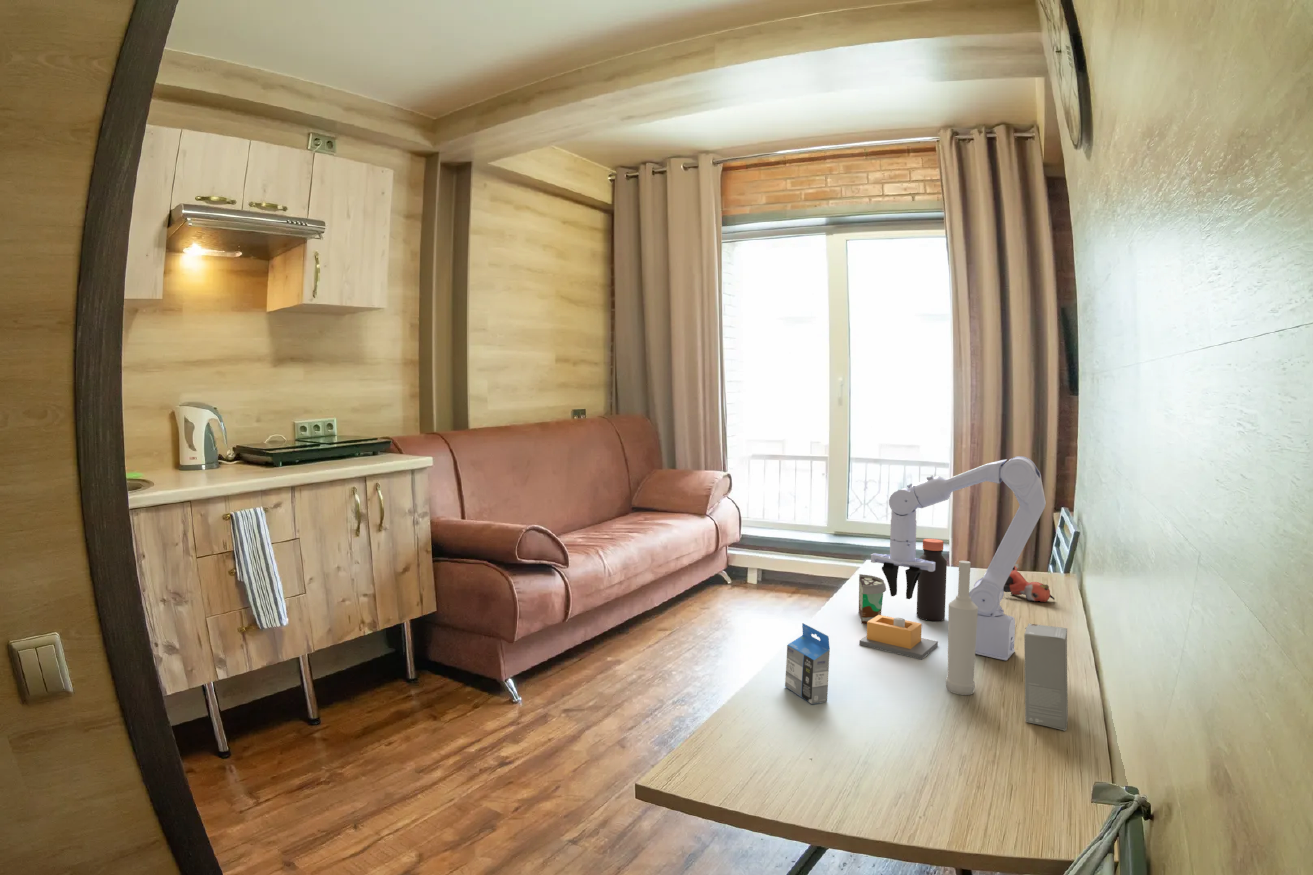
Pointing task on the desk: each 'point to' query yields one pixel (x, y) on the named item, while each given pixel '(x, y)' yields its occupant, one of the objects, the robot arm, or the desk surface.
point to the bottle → (962, 636)
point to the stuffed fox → (1026, 587)
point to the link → (894, 632)
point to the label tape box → (808, 666)
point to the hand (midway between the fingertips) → (901, 596)
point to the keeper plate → (917, 651)
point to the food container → (870, 597)
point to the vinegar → (932, 583)
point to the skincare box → (1046, 676)
